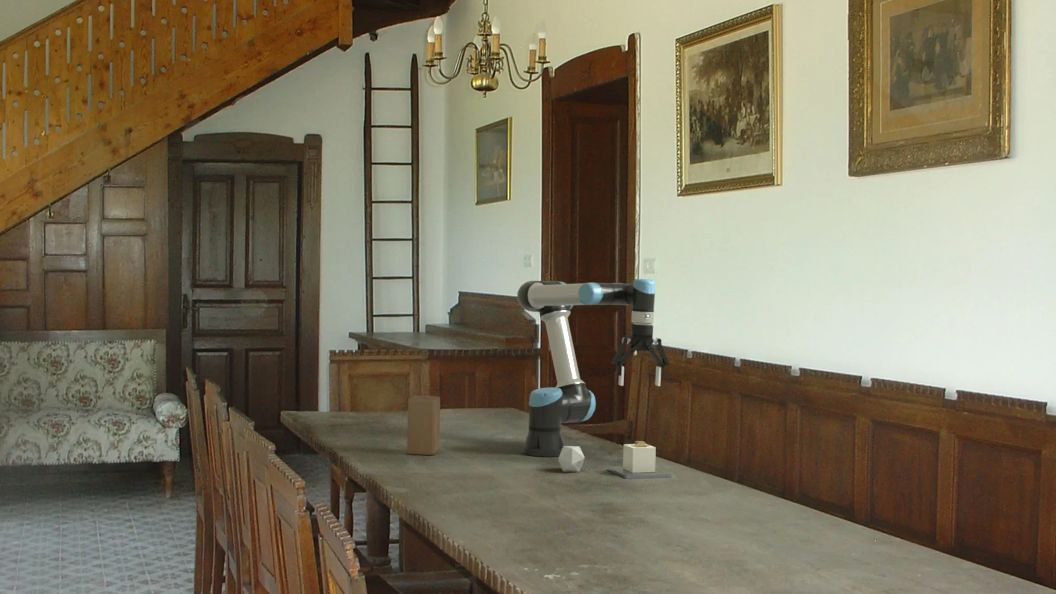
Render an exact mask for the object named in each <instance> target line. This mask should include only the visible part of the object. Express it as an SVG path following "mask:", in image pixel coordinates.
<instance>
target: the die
mask: <svg viewBox="0 0 1056 594" xmlns="http://www.w3.org/2000/svg"><path fill="white" fill-rule="evenodd" d="M584 460H585V455H584V453H583V451H582V449H581V447H580V446H576V445H575V446H574V445H569V446H568V445H564V446H563V448H562V451H561V453H560V456H558V460H557V461H558V463H559V465H560V467H561V470H562V472H565V473H567V472H569V473H570V472H571V473H574V472H575V473H579V472H580V470H581V469H582V466H583V465H584Z"/></svg>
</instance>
